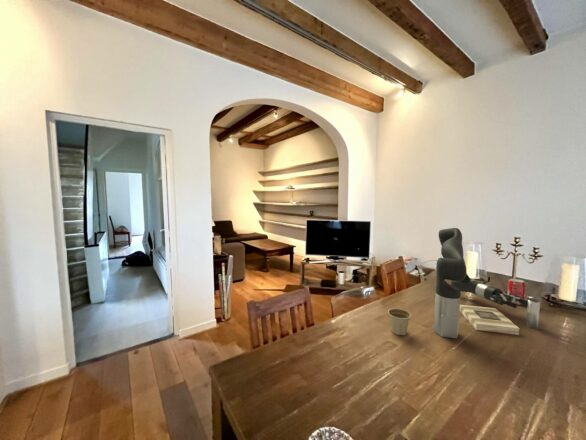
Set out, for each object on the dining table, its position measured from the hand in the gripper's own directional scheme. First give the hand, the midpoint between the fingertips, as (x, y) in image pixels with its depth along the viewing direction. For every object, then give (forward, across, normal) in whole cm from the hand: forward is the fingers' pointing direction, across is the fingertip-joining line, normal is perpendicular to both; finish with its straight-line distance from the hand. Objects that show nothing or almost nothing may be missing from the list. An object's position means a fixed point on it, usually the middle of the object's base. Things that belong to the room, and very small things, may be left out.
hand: (523, 305), depth 118 cm
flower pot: (-8, -62, +9) cm, 64 cm away
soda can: (-17, +22, +9) cm, 29 cm away
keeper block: (-5, -16, +8) cm, 18 cm away
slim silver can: (+4, 0, +8) cm, 9 cm away
